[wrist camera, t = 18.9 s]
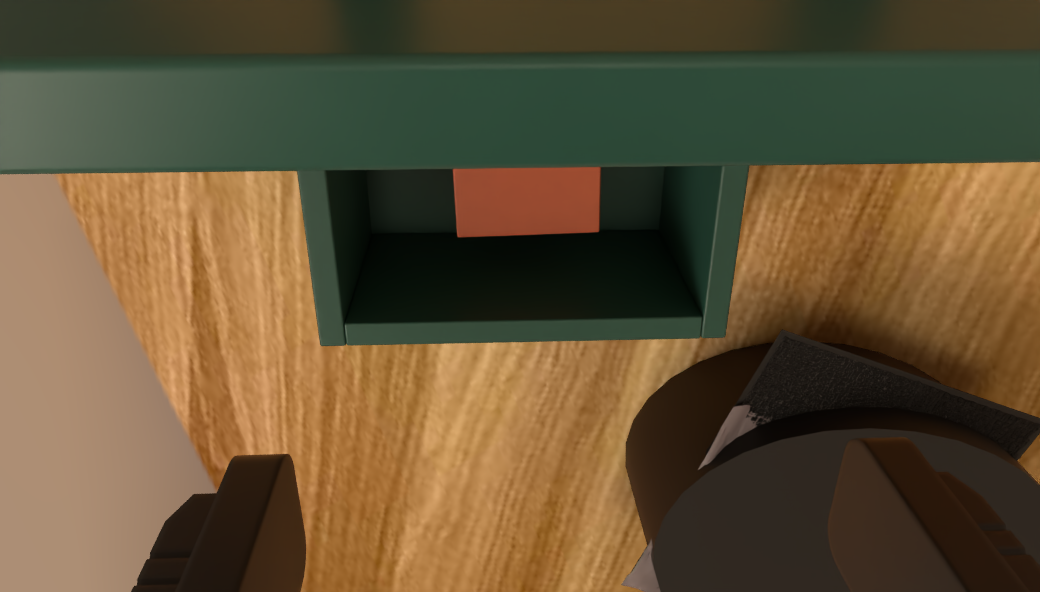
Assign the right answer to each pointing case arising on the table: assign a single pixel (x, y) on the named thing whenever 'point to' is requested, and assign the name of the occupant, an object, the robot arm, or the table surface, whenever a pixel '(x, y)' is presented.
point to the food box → (521, 261)
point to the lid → (513, 84)
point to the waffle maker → (798, 461)
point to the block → (526, 201)
